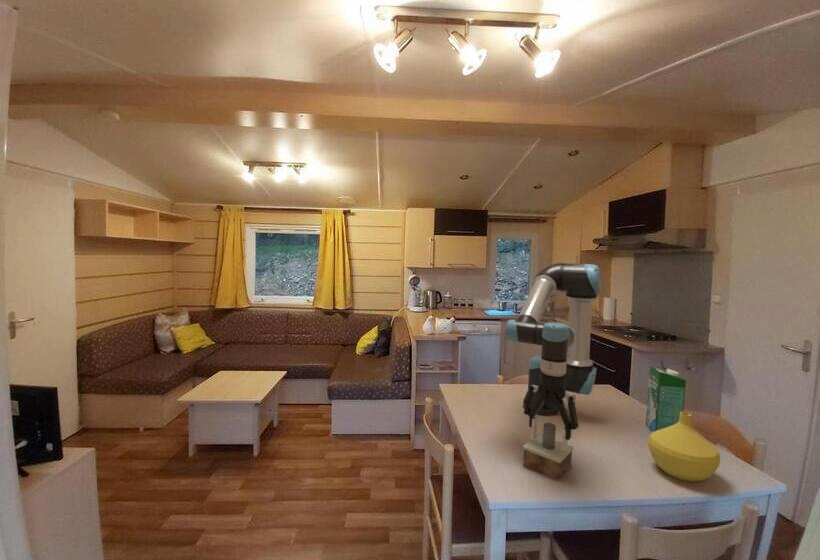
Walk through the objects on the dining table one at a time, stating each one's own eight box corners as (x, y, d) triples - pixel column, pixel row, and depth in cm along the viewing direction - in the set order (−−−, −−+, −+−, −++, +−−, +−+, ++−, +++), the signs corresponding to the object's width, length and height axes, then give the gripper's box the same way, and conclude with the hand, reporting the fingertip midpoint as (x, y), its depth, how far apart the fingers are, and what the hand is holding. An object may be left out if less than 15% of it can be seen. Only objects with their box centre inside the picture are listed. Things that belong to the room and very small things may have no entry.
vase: (641, 452, 132) (646, 398, 131) (706, 465, 125) (711, 408, 124) (652, 480, 115) (657, 419, 114) (727, 497, 108) (733, 432, 107)
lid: (522, 451, 120) (524, 424, 119) (537, 439, 128) (539, 414, 128) (559, 466, 112) (561, 437, 111) (573, 452, 121) (575, 425, 120)
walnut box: (523, 467, 120) (524, 448, 120) (537, 454, 128) (538, 437, 128) (558, 482, 113) (559, 462, 112) (570, 467, 121) (572, 449, 120)
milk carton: (681, 439, 144) (686, 374, 142) (654, 435, 145) (660, 371, 144) (670, 428, 152) (675, 367, 151) (645, 425, 154) (650, 365, 153)
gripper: (515, 367, 123) (511, 435, 124) (585, 384, 108) (580, 460, 110) (525, 363, 128) (521, 427, 130) (593, 378, 114) (588, 451, 115)
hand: (548, 442), depth 120 cm, fingers open, 9 cm apart
